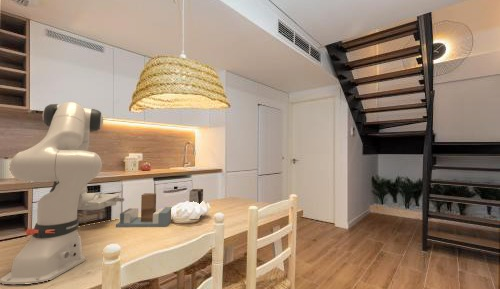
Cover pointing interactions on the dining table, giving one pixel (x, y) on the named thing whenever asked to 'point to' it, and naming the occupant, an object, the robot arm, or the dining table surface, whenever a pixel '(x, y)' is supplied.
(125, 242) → the dining table surface
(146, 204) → the walnut block
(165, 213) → the vise base
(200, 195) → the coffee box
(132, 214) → the vise jaw
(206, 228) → the dining table surface
